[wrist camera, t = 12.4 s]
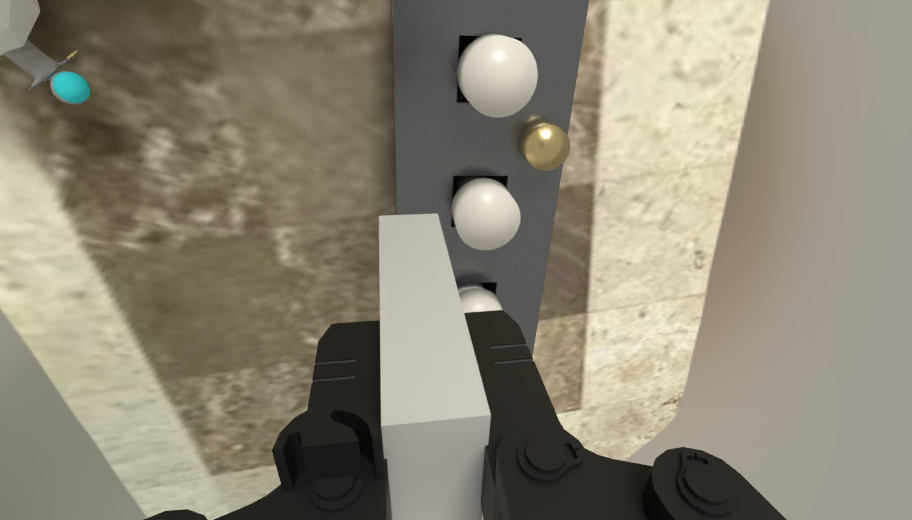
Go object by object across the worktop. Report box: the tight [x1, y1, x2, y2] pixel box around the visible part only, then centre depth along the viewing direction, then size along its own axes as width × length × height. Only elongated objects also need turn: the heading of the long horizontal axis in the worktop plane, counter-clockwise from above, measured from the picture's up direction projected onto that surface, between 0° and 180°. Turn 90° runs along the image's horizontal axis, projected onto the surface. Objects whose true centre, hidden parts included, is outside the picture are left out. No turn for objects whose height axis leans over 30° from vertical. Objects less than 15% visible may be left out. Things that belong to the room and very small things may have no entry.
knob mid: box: [451, 176, 520, 250], centre depth 35 cm, size 4×4×8 cm
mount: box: [392, 0, 589, 355], centre depth 36 cm, size 30×12×5 cm, turn 177°
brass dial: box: [518, 120, 570, 171], centre depth 32 cm, size 3×3×2 cm
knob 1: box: [457, 34, 538, 118], centre depth 30 cm, size 4×4×8 cm
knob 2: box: [456, 283, 503, 313], centre depth 39 cm, size 4×4×8 cm
